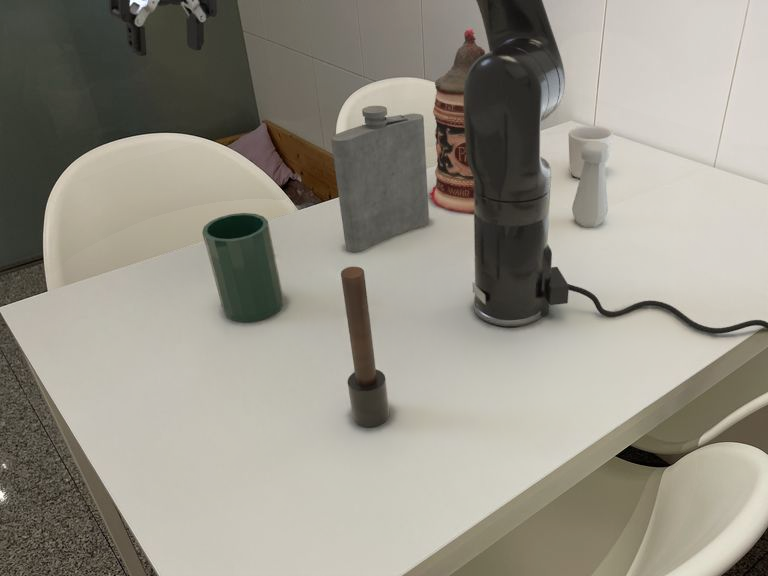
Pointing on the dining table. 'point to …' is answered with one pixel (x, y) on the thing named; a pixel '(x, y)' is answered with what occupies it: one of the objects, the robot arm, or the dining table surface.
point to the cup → (579, 139)
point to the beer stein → (454, 133)
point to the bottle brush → (363, 355)
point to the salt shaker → (592, 186)
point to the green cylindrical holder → (244, 266)
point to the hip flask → (381, 177)
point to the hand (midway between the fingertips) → (167, 51)
